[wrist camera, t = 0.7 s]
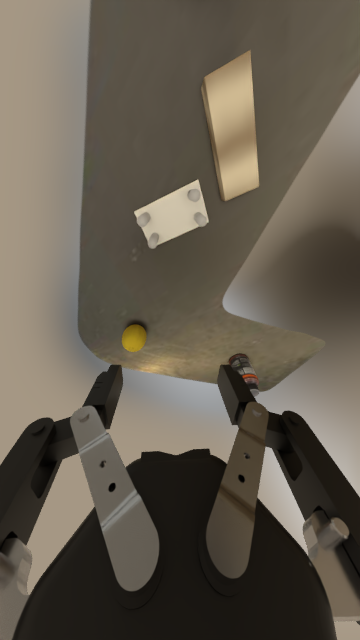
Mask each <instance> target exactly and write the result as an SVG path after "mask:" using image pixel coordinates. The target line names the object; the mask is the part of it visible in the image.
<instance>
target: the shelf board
mask: <svg viewBox="0 0 360 640" xmlns="http://www.w3.org/2000/svg"><path fill="white" fill-rule="evenodd" d="M201 91H202V96H203V102H204V107H205V113H206V118H207V124H208V129H209V135H210V140H211V146H212V151H213V157H214V162H215V168H216V173H217V179H218V184H219V190H220V195H221V201H227V200H229V199H232V198H234V197H236V196H239V195H241V194H243V193H245V192H248V191H250V190H252V189H254V188H257V187H259V177H258V162H257V146H256V131H255V116H254V101H253V85H252V70H251V55H250V50H249V51H248V52H246V53H244V54H242V55H241V56H239V57H237V58H236V59H234V60H232V61H231V62H229V63H227V64H226V65H224V66H222V67H221V68H219V69H217V70H215V71H214V72H212V73H210V74H209V75H207V76H205V77H204V80H203V84H202V87H201Z"/></svg>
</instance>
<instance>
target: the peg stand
mask: <svg viewBox="0 0 360 640" xmlns="http://www.w3.org/2000/svg"><path fill="white" fill-rule="evenodd" d="M134 213H135V215H136V217H137V223H138V225H139V226H140V227H141V228H142V230H143V232H144V234H145V236H146V238H147V240H148V246H149V247H150V248H152V249H154V248H156V246H157V245H159V244H161V243H163V242H166V241H168V240H170V239H172V238H175V237H177V236H179V235H181V234H184V233H186V232H188V231H190V230H193V229H195V228H197V227H199V226H200V227H203V226H205V225H206V224H207V223H208V222H209V220H208V216H207V212H206V208H205V204H204V200H203V196H202V193H201V189H200V185H199V181H198V180H196V181H194V182H192V183H190V184H188V185H186V186H184V187H182V188H180V189H178V190H176V191H174V192H172V193H170V194H168V195H166V196H164V197H162V198H160V199H158V200H156V201H154V202H152V203H150V204H149V205H147V206H145V207H143V208H141V209H139V210H137V211H135V212H134Z"/></svg>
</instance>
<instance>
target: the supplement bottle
mask: <svg viewBox="0 0 360 640" xmlns="http://www.w3.org/2000/svg"><path fill="white" fill-rule="evenodd" d="M229 364H230V365H231V367H232V369H233V370H234V371H237V372H238V373H240V374H241V375H242V377H243V378H244V380H245V382H246V384H247V386H248V387H249V389H250V391H251V393H252V394H253V396H254V397H255V396H257V395H258V394H259V389H258V387H257V386H258V384H259V381H258V378H257V376H256V374H255V372H254V369H253V367H252V365H251V363H250V361H249V359H248V357H247V356H246V355H243V354H238V355H235V356H233V357H231V359H230V361H229Z"/></svg>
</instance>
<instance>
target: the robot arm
mask: <svg viewBox="0 0 360 640" xmlns="http://www.w3.org/2000/svg"><path fill="white" fill-rule="evenodd" d="M122 385H123V377H122V367H121V365H111V366H110V367H109V369H108V372H102V373H101V374H100V375H99V376H98V377H97V379H96V381H95V383H94V385H93V387H92V389H91V391H90V393H89V395H88V397H87V399H86V401H85V403H84V405H83V406H82V408H80V409H78V410H77V411H75V412H74V413H73V415H72V416H71V417H69V418H66V419H62V420H59V421H56V422H54V421H53V420H52V419H51V418H41V419H39V420H36V421H35V422H33V423H31V424H30V425H29V426H28V427H27V428H26V429H25V430H24V432H23V433H22V434H21V436H20V437H19V439H18V440H17V442H16V443H15V445H14V446H13V448H12V449H11V450H10V452H9V453H8V455H7V456H6V458H5V459H4V461H3V462H2V464H1V465H0V640H337V637H336V632H335V626H334V621H356V622H357V623H358V624H359V625H360V497H359V496H358V494H357V493H356V492H355V490H354V489H353V487H352V486H351V485H350V483H349V482H348V480H347V479H346V478H345V476H344V475H343V473H342V472H341V471H340V469H339V468H338V466H337V465H336V464H335V462H334V461H333V459H332V458H331V457H330V455H329V454H328V453H327V451H326V450H325V448H324V447H323V445H322V444H321V443H320V441H319V440H318V438H317V437H316V436H315V434H314V433H313V431H312V430H311V429H310V427H309V426H308V424H307V423H306V422H305V420H304V419H303V418H302V417H301V416H300V415H298V414H297V413H295V412H292V411H284V412H283V413H282V415H279V414H275V413H271V412H269V411H267V409H266V408H265V407H264V406H263V405H261V404H260V403H257V401H256V400H255V398H254V396H253V394H252V393H251V391H250V389H249V387H248V386H247V384H246V382H245V380H244V378H243V377H242V375H241V374H240V373H238V372H237V371H234V370H233V369H232V367H231V365H220V369H219V374H218V387H219V390H220V393H221V396H222V398H223V401H224V404H225V407H226V409H227V412H228V415H229V417H230V421H231V423H232V425H238V427H239V430H238V433H237V436H236V439H235V442H234V445H233V448H232V451H231V454H230V457H229V461H228V463H227V464H226V463H225V462H224V461H223V460H221V459H220V458H218V457H216V456H213V455H210V450H209V449H193V450H190V451H188V452H185V453H182V454H179V455H172V454H168V453H164V452H159V451H153V452H142V454H141V458H140V459H137V460H136V461H134V462H132V463H131V464H129V465H128V466H127V467H126V468H125V466H124V464H123V462H122V460H121V458H120V456H119V453H118V451H117V449H116V447H115V445H114V443H113V441H112V439H111V437H110V435H109V433H107V432H106V430H105V429H110V426H111V423H112V419H113V416H114V413H115V410H116V406H117V403H118V400H119V396H120V393H121V390H122ZM265 446H266V447H270V448H272V449H273V452H274V454H275V456H276V458H277V460H278V462H279V465H280V467H281V469H282V471H283V473H284V476H285V478H286V480H287V482H288V484H289V487H290V489H291V491H292V493H293V495H294V497H295V499H296V501H297V504H298V506H299V508H300V510H301V513H302V515H303V517H304V519H305V522H304V525H303V535H304V539H305V542H306V545H307V548H308V556H307V554H306V552H305V551H304V550H303V549H302V547H301V546H300V545H299V544H298V543H297V541H296V540H295V539H294V538H293V537H292V536H291V535H290V534H289V533H288V532H287V530H286V529H285V528H284V527H283V526H282V525H281V524H280V522H279V521H278V520H277V519H276V518H275V517H274V516H273V515H272V513H271V512H270V511H269V510H268V509H267V508H266V507H265V506H264V505H263V504H262V502H261V501H260V500H259V499H258V498H257V495H258V489H259V483H260V477H261V470H262V465H263V458H264V452H265ZM78 453H79V454H80V458H81V462H82V465H83V468H84V471H85V475H86V478H87V481H88V485H89V488H90V492H91V495H92V498H93V501H94V505H95V507H94V508H93V510H92V511H91V512H90V514H89V515H88V516H87V517H86V519H85V520H84V521H83V522H82V524H81V525H80V526H79V528H78V529H77V530H76V532H75V533H74V534H73V536H72V537H71V538H70V539H69V541H68V542H67V543H66V545H65V546H64V547H63V549H62V550H61V551H60V552H59V554H58V555H57V556H56V558H55V559H54V560H53V562H52V563H51V564H50V566H49V567H48V568H47V569H46V571H45V572H44V573H43V575H42V576H41V578H40V579H39V581H38V582H37V584H36V585H35V587H34V589H33V591H32V592H31V594H30V595H28V593H27V580H28V575H29V572H30V569H31V565H32V554H31V551H30V550H29V549H28V548H27V547H26V545H27V542H28V540H29V538H30V535H31V533H32V531H33V528H34V525H35V523H36V521H37V519H38V516H39V514H40V512H41V509H42V507H43V504H44V502H45V500H46V497H47V495H48V492H49V490H50V488H51V485H52V483H53V481H54V478H55V476H56V473H57V471H58V469H59V466H60V464H61V462H62V459H65V458H67V457H70V456H72V455H75V454H78Z"/></svg>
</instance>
